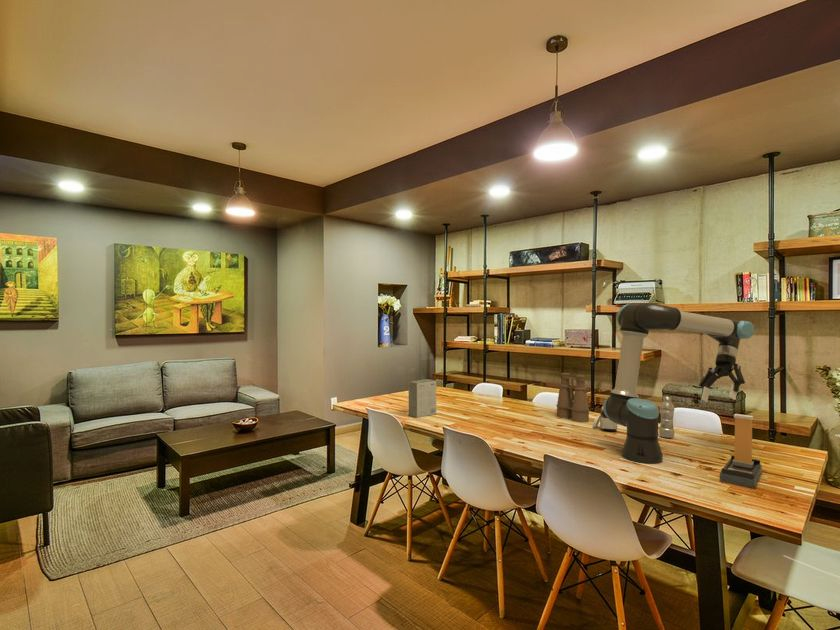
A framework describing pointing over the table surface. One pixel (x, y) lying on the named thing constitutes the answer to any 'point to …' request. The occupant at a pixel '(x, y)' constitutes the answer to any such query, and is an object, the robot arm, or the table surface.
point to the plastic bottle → (666, 418)
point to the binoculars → (573, 399)
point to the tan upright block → (743, 441)
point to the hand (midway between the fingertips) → (717, 399)
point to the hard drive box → (422, 398)
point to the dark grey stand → (741, 474)
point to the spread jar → (605, 423)
